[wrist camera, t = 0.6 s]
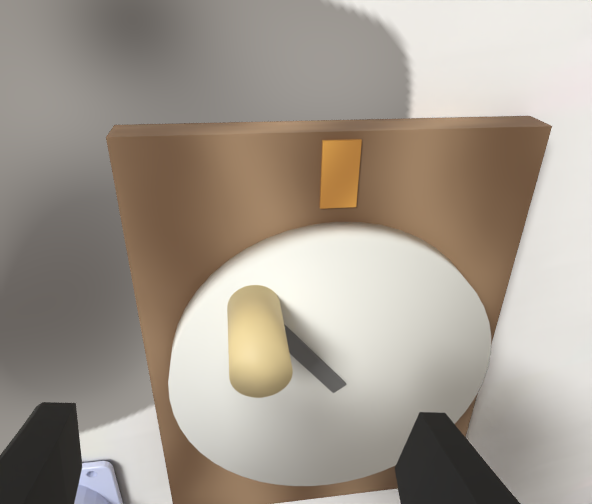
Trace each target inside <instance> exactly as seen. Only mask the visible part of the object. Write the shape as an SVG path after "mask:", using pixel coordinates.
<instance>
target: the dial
mask: <svg viewBox="0 0 592 504" xmlns="http://www.w3.org/2000/svg"><path fill="white" fill-rule="evenodd" d="M490 355H491V331H490V324H489V320H488V317H487V314H486V311H485V308H484V306H483V304H482V302H481V300H480V299H479V297H478V295H477V293H476V292H475V290H474V289H473V288H472V287H471V285H470V284H469V283H468V282H467V280H466V279H465V278H464V277H463V275H462V274H461V273H460V272H459V271H458V269H457V268H456V267H455V266H454V265H453V263H452V262H451V261H450V260H449V259H448V258H447V257H446V256H445V255H443V254H442V253H441V252H440V251H439V250H438V249H436V248H435V247H433V246H432V245H430V244H429V243H427V242H425V241H424V240H422V239H420V238H418V237H416V236H414V235H411V234H409V233H406V232H404V231H402V230H398V229H395V228H391V227H387V226H383V225H378V224H370V223H362V222H331V223H322V224H314V225H309V226H305V227H300V228H296V229H292V230H288V231H285V232H283V233H280V234H277V235H274V236H272V237H269V238H266V239H264V240H262V241H260V242H258V243H256V244H254V245H252V246H250V247H248V248H246V249H245V250H243V251H242V252H240V253H239V254H237V255H236V256H234V257H233V258H231V259H230V260H228V261H227V262H226V263H224V264H223V265H222V266H221V267H220V268H219V269H217V270H216V271H215V272H214V273H213V274H212V275H210V277H209V278H208V279H207V280H206V281H205V282H204V283H203V284H202V285H201V287H200V288H199V289H198V290H197V291H196V293H195V294H194V296H193V297H192V299H191V300H190V302H189V303H188V305H187V306H186V308H185V310H184V312H183V314H182V316H181V318H180V321H179V323H178V325H177V329H176V332H175V336H174V339H173V345H172V353H171V362H170V371H169V380H168V387H169V399H170V403H171V407H172V410H173V414H174V416H175V418H176V421H177V423H178V425H179V427H180V429H181V430H182V432H183V433H184V435H185V436H186V437H187V439H188V440H189V441H190V443H191V444H192V445H193V446H194V447H195V448H196V449H197V450H198V451H199V452H200V453H202V454H203V455H204V456H206V457H207V458H208V459H210V460H211V461H212V462H214V463H215V464H217V465H219V466H221V467H222V468H224V469H226V470H228V471H230V472H233V473H235V474H238V475H240V476H242V477H246V478H249V479H253V480H256V481H260V482H265V483H270V484H276V485H287V486H318V485H329V484H335V483H341V482H347V481H351V480H355V479H359V478H363V477H366V476H369V475H372V474H375V473H378V472H381V471H384V470H386V469H388V468H391V467H393V466H395V465H396V464H397V462H398V459H399V457H400V455H401V453H402V450H403V448H404V446H405V444H406V441H407V439H408V437H409V435H410V432H411V430H412V428H413V426H414V424H415V421H416V419H417V417H418V415H419V412H437V413H446V414H447V416H448V417H449V418H450V419H451V420H452V422H453V423H454V424H455V423H456V422H457V421H458V420H459V418H460V417H461V416H462V415H463V414H464V413H465V411H466V410H467V409H468V407H469V406H470V404H471V403H472V401H473V400H474V398H475V397H476V395H477V393H478V391H479V389H480V387H481V385H482V383H483V381H484V378H485V375H486V372H487V369H488V365H489V360H490Z"/></svg>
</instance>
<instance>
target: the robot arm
mask: <svg viewBox="0 0 592 504" xmlns="http://www.w3.org/2000/svg"><path fill="white" fill-rule="evenodd" d="M395 474H396V479H397V485H398V491H399V496H400V501H401V504H520V503H519V502H518V500H517V499H516V498H515V497H514V496H513V495H512V493H511V492H510V491H509V490H508V489H507V488H506V486H505V485H504V484H503V483H502V482H501V480H500V479H499V478H498V477H497V476H496V474H495V473H494V472H493V471H492V470H491V468H490V467H489V466H488V465H487V463H486V462H485V461H484V460H483V459H482V457H481V456H480V455H479V454H478V452H477V451H476V450H475V449H474V447H473V446H472V445H471V444H470V443H469V441H468V440H467V439H466V438H465V436H464V435H463V434H462V433H461V431H460V430H459V429H458V428H457V427H456V425H455V424H454V423H453V422H452V420H451V419H450V418H449V417H448V416H447V414H446V413H437V412H419V415H418V417H417V419H416V421H415V424H414V426H413V428H412V430H411V432H410V435H409V437H408V439H407V441H406V444H405V446H404V448H403V450H402V453H401V455H400V457H399V459H398V462H397V464H396V466H395ZM0 504H123V502H122V498H121V494H120V491H119V487H118V483H117V479H116V476H115V472H114V468H113V465H112V464H111V463H109V462H107V461H97V462H87V463H82V459H81V450H80V440H79V431H78V421H77V413H76V404H75V403H46V402H44V403H41V404H39V405H38V406H37V407H36V408H35V409H34V411H33V412H32V414H31V415H30V417H29V418H28V419H27V421H26V422H25V423H24V425H23V426H22V428H21V429H20V430H19V431H18V433H17V434H16V436H15V437H14V438H13V439H12V441H11V442H10V443H9V445H8V446H7V447H6V449H5V450H4V451H3V452H2V454H1V455H0Z"/></svg>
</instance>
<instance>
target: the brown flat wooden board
mask: <svg viewBox="0 0 592 504" xmlns="http://www.w3.org/2000/svg"><path fill="white" fill-rule="evenodd" d="M551 128H552V126H551V125H548V124H546V123H544V122H542V121H540V120H538V119H535V118H533V117H531V116H504V117H458V118H412V119H367V120H321V121H280V122H279V121H276V122H231V123H189V124H186V123H184V124H139V125H114V126H113V128H112V129H111V131H110V133H109V134H108V135H107V137H106V140H107V145H108V151H109V156H110V162H111V167H112V172H113V178H114V183H115V189H116V194H117V200H118V205H119V211H120V216H121V222H122V227H123V232H124V238H125V243H126V249H127V255H128V260H129V265H130V271H131V276H132V282H133V287H134V293H135V297H136V304H137V309H138V315H139V319H140V326H141V330H142V336H143V342H144V347H145V353H146V358H147V364H148V369H149V375H150V380H151V386H152V391H153V397H154V402H155V408H156V413H157V419H158V424H159V430H160V435H161V441H162V446H163V451H164V457H165V462H166V468H167V473H168V479H169V484H170V490H171V495H172V501H173V504H274V503H282V502H290V501H298V500H307V499H315V498H323V497H331V496H339V495H347V494H355V493H364V492H372V491H380V490H388V489H396V488H398V485H397V479H396V474H395V466H396V465H395V466H393V467H391V468H388V469H386V470H384V471H381V472H378V473H375V474H372V475H369V476H366V477H363V478H359V479H355V480H351V481H347V482H341V483H335V484H329V485H318V486H287V485H276V484H270V483H265V482H260V481H256V480H253V479H249V478H246V477H242V476H240V475H238V474H235V473H233V472H230V471H228V470H226V469H224V468H222V467H221V466H219V465H217V464H215V463H214V462H212V461H211V460H210V459H208V458H207V457H206V456H204V455H203V454H202V453H200V452H199V451H198V450H197V449H196V448H195V447H194V446H193V445H192V444H191V443H190V441H189V440H188V439H187V437H186V436H185V435H184V433H183V432H182V430H181V429H180V427H179V425H178V423H177V421H176V418H175V416H174V414H173V410H172V407H171V403H170V399H169V387H168V380H169V371H170V362H171V353H172V345H173V339H174V336H175V332H176V329H177V325H178V323H179V321H180V318H181V316H182V314H183V312H184V310H185V308H186V306H187V305H188V303H189V302H190V300H191V299H192V297H193V296H194V294H195V293H196V291H197V290H198V289H199V288H200V287H201V285H202V284H203V283H204V282H205V281H206V280H207V279H208V278H209V277H210V275H212V274H213V273H214V272H215V271H216V270H217V269H219V268H220V267H221V266H222V265H223V264H224V263H226V262H227V261H228V260H230V259H231V258H233V257H234V256H236V255H237V254H239V253H240V252H242V251H243V250H245V249H246V248H248V247H250V246H252V245H254V244H256V243H258V242H260V241H262V240H264V239H266V238H269V237H272V236H274V235H277V234H280V233H283V232H285V231H288V230H292V229H296V228H300V227H305V226H309V225H314V224H322V223H331V222H362V223H370V224H378V225H383V226H387V227H391V228H395V229H398V230H402V231H404V232H406V233H409V234H411V235H414V236H416V237H418V238H420V239H422V240H424V241H425V242H427V243H429V244H430V245H432V246H433V247H435V248H436V249H438V250H439V251H440V252H441V253H442V254H443V255H445V256H446V257H447V258H448V259H449V260H450V261H451V262H452V263H453V265H454V266H455V267H456V268H457V269H458V271H459V272H460V273H461V274H462V275H463V277H464V278H465V279H466V280H467V282H468V283H469V284H470V285H471V287H472V288H473V289H474V290H475V292H476V293H477V295H478V297H479V299H480V300H481V302H482V304H483V306H484V308H485V311H486V314H487V317H488V320H489V324H490V331H491V343H492V340H493V336H494V332H495V329H496V325H497V322H498V318H499V315H500V311H501V307H502V304H503V300H504V297H505V293H506V289H507V286H508V282H509V279H510V275H511V271H512V268H513V264H514V261H515V257H516V253H517V250H518V246H519V243H520V239H521V236H522V232H523V228H524V225H525V221H526V218H527V214H528V210H529V207H530V203H531V200H532V196H533V192H534V189H535V185H536V182H537V178H538V175H539V171H540V167H541V164H542V160H543V157H544V153H545V149H546V146H547V142H548V139H549V135H550V131H551ZM476 397H477V395H476ZM476 397H475V398H474V400H473V401H472V403H471V404H470V406H469V407H468V409H467V410H466V411H465V413H464V414H463V415H462V416H461V417H460V418H459V420H458V421H457V422H456V423H455V425H456V427H457V428H458V429H459V430H460V431H461V433H462V434H463V435H464V436H465V437H466V433H467V429H468V426H469V422H470V419H471V415H472V411H473V408H474V404H475V401H476Z"/></svg>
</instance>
